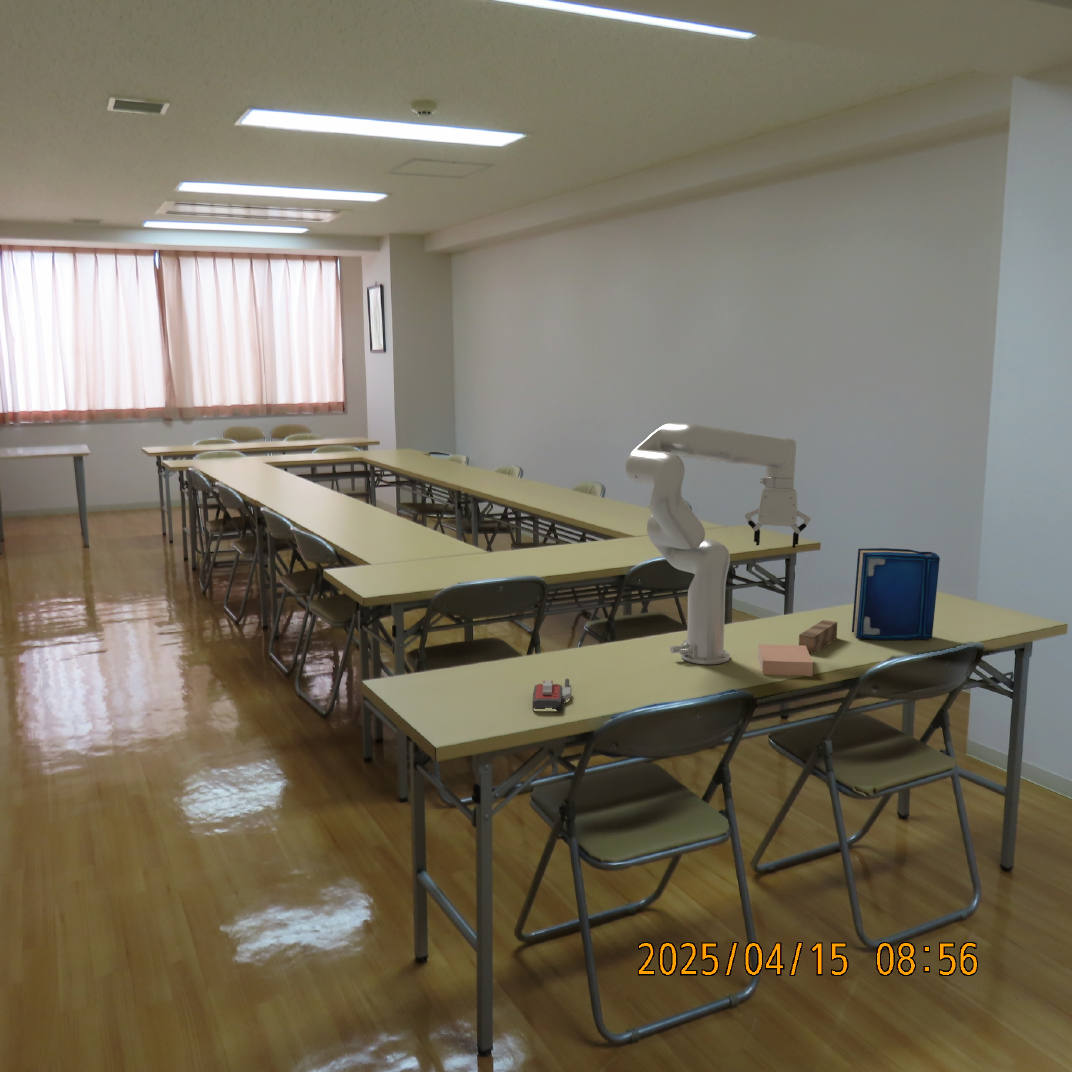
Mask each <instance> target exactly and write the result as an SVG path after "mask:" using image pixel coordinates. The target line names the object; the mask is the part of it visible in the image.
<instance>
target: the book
mask: <svg viewBox="0 0 1072 1072" xmlns="http://www.w3.org/2000/svg"><path fill="white" fill-rule="evenodd" d="M940 559H941V557H940V556H939V554H937V553H936V552H932V551H917V550H912V549H909V548H908V549H907V548H906V549H903V548H888V547H878V548H877V547H874V548H867V547H866V548H858V550H857V563H856V574H855V586H854V598H853V599H854V600H853V613H852V622H851V623H852V624H851V625H852V626H851V633H853V636H856V637H855V638H856V639H866V640H867V639H869V640H878V641H879V640H880V641H911V640H915V639H916V640H917V639H918V640H931V639H933V635H934V634H933V633H934V632H933V631H934V630H933V629H934V621H935V612H936V604H937V603H936V601H937V592H938V581H939V580H938V579H939V571H940V570H939V569H940V561H941V560H940Z"/></svg>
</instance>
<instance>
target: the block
mask: <svg viewBox="0 0 1072 1072" xmlns="http://www.w3.org/2000/svg"><path fill="white" fill-rule="evenodd" d="M837 637H838V621H835V620H834V621H832V620H827V619H822V620H821V621H819V622H817V623H816V624H814V625H813V626H811V627H809V628H807V629H806V630H805V631H803V632H801V633H800V634H799V635H798V645H803V646H806V647H807V650H808V652H809V653H814V654H815V652H816V653H817V652H818V650H819V651H820V650H822V649H823V648H824V646H825V647H826V646H828V645H829V644H831V643H833V642H834V641H835V640H837ZM834 639H835V640H834ZM830 642H831V643H830ZM828 643H829V644H828ZM827 644H828V645H827ZM821 648H822V649H821Z"/></svg>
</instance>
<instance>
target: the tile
mask: <svg viewBox="0 0 1072 1072" xmlns="http://www.w3.org/2000/svg"><path fill="white" fill-rule="evenodd" d="M757 652H758V653H757V655H758V657H757V658H758V662H759V665H760V670H761V669H762V670H761V674H762V675H764V674H773V676H791V675H805V676H804V677H813V669H814V667H813V666H814V661H813V659H812V657H811V654H809V652H808V650H807V647H806V646H803V645H799V644H796V645H794V644H768V643H767V644H763V643H761V644H758V651H757Z"/></svg>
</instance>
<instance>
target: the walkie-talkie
mask: <svg viewBox="0 0 1072 1072" xmlns="http://www.w3.org/2000/svg"><path fill="white" fill-rule="evenodd" d="M532 694H533V695H532V709H533V708H535V709H545V708H552V709H556V710H557V711H560V712H562V711H563V709H564V704H563V703H564V702H566V700H568V699H570V698H571V697H572V687H570V679H569V678H565V680H564V687H563V686H562V685H561V684H559V683H554V682H553V680H543V683H537V684H535V685H534V688H533V693H532Z"/></svg>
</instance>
